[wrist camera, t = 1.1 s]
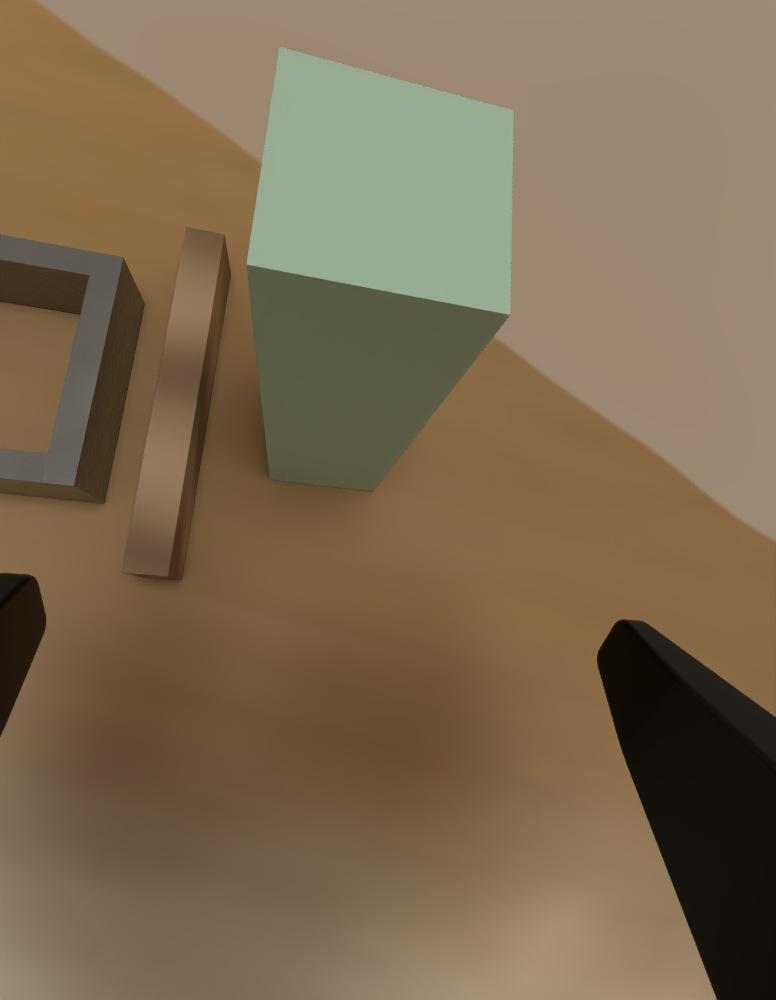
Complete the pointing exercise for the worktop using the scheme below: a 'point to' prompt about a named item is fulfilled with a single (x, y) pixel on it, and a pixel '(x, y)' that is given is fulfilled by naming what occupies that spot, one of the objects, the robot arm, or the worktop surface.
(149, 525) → the brown wooden bar
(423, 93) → the bar
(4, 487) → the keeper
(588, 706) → the worktop surface
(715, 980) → the robot arm
